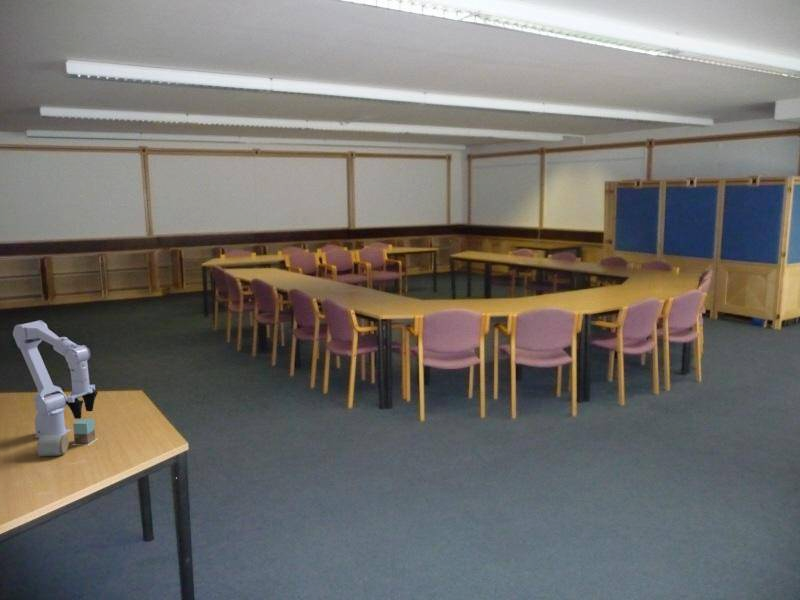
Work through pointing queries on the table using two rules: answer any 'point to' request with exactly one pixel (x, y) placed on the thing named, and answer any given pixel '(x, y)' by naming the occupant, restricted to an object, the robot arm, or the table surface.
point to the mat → (86, 444)
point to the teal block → (84, 426)
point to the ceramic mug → (52, 445)
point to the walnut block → (84, 438)
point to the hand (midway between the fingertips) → (83, 414)
